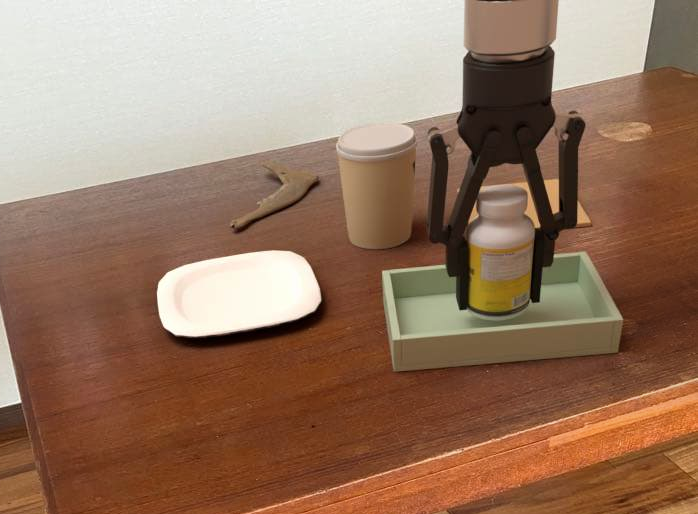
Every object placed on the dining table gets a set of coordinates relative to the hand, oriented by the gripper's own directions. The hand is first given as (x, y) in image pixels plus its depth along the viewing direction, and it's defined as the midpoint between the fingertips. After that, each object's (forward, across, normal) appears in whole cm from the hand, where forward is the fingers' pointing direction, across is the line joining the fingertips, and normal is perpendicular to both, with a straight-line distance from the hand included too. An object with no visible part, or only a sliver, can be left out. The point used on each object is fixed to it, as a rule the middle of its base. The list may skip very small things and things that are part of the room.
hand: (497, 299), depth 89 cm
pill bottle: (+1, 0, 0) cm, 1 cm away
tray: (+3, 0, 0) cm, 3 cm away
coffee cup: (+3, +10, -24) cm, 26 cm away
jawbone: (+3, +26, -39) cm, 47 cm away
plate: (+3, +27, -10) cm, 29 cm away
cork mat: (+3, -8, -28) cm, 29 cm away
